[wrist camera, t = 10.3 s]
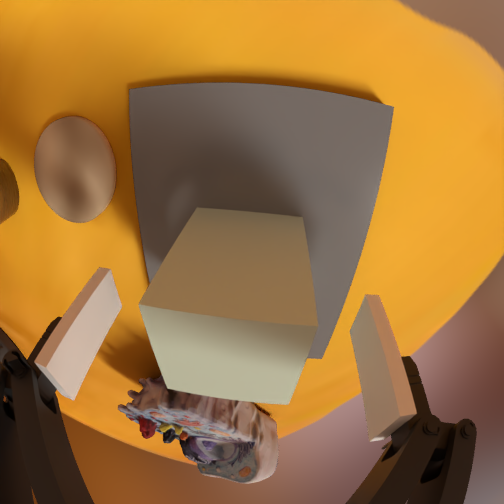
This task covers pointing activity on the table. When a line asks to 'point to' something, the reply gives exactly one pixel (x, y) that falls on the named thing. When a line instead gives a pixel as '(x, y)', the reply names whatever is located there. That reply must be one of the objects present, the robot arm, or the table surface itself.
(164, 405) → the cell model
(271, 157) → the slate board
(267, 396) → the sage block
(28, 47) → the table surface
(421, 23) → the table surface
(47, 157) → the cork coaster
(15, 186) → the dark tin
